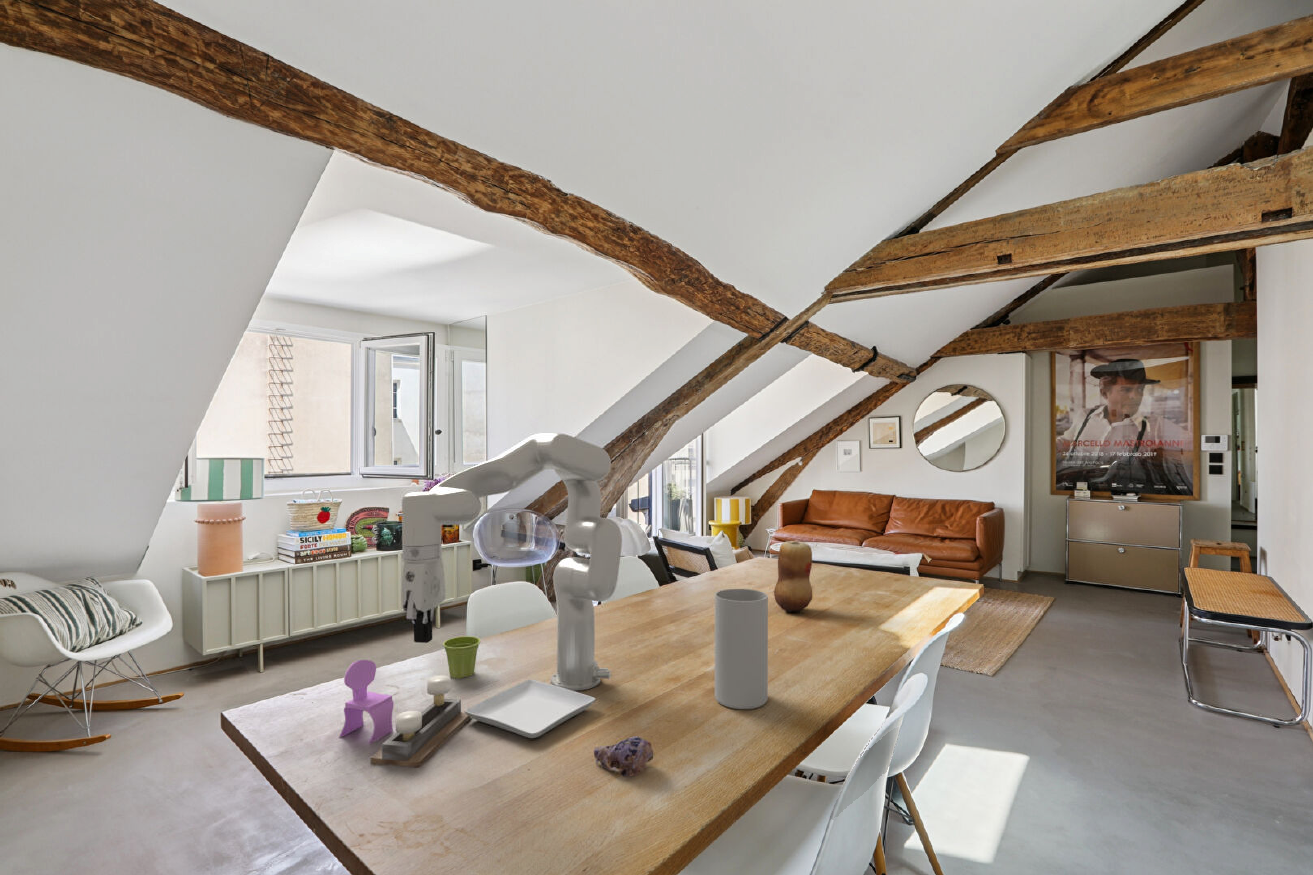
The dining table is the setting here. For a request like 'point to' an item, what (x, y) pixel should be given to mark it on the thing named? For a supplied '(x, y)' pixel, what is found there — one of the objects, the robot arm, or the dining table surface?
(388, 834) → the dining table surface
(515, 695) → the salad plate
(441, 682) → the plunger far
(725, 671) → the cylinder vase
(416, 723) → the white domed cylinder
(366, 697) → the toy chair
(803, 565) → the butternut squash
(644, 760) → the grey-brown rounded lump
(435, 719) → the mount
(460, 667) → the plant pot
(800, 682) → the dining table surface
